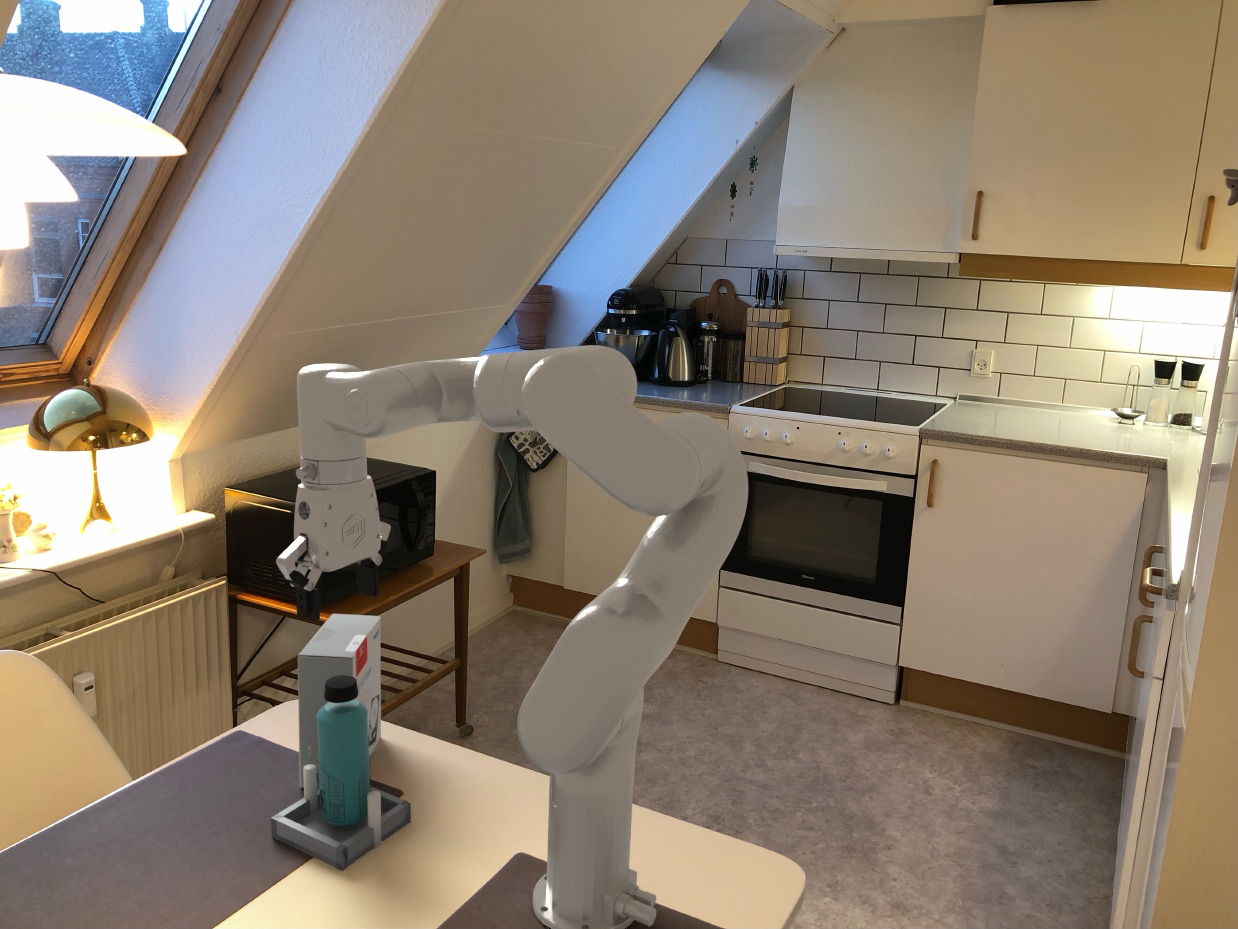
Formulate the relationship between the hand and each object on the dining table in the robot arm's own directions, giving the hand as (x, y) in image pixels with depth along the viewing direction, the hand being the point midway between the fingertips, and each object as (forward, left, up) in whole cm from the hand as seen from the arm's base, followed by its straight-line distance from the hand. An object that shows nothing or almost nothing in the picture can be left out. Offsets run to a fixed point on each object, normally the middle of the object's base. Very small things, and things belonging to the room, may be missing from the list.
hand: (339, 606), depth 120 cm
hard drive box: (+12, -12, -31) cm, 35 cm away
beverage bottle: (0, 0, -30) cm, 30 cm away
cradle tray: (0, 0, -31) cm, 31 cm away
